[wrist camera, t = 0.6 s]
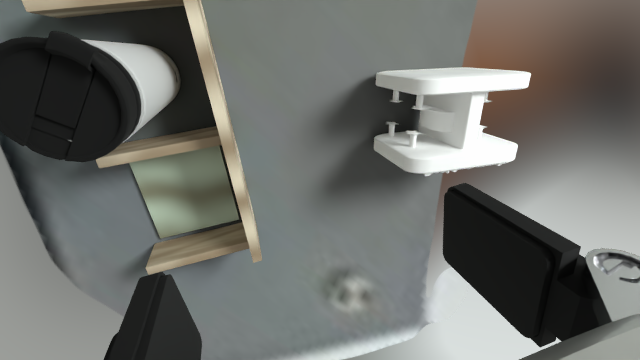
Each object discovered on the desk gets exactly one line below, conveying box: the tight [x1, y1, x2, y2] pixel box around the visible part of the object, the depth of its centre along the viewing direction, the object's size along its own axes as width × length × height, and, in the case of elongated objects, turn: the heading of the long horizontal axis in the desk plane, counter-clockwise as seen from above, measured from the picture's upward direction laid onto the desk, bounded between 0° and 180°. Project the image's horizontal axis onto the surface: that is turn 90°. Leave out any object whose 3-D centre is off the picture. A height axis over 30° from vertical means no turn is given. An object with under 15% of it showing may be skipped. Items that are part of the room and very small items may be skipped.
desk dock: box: [22, 0, 262, 274], centre depth 32 cm, size 28×13×8 cm, turn 7°
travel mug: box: [0, 31, 181, 162], centre depth 23 cm, size 6×7×20 cm
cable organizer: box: [374, 68, 531, 176], centre depth 37 cm, size 15×11×12 cm
